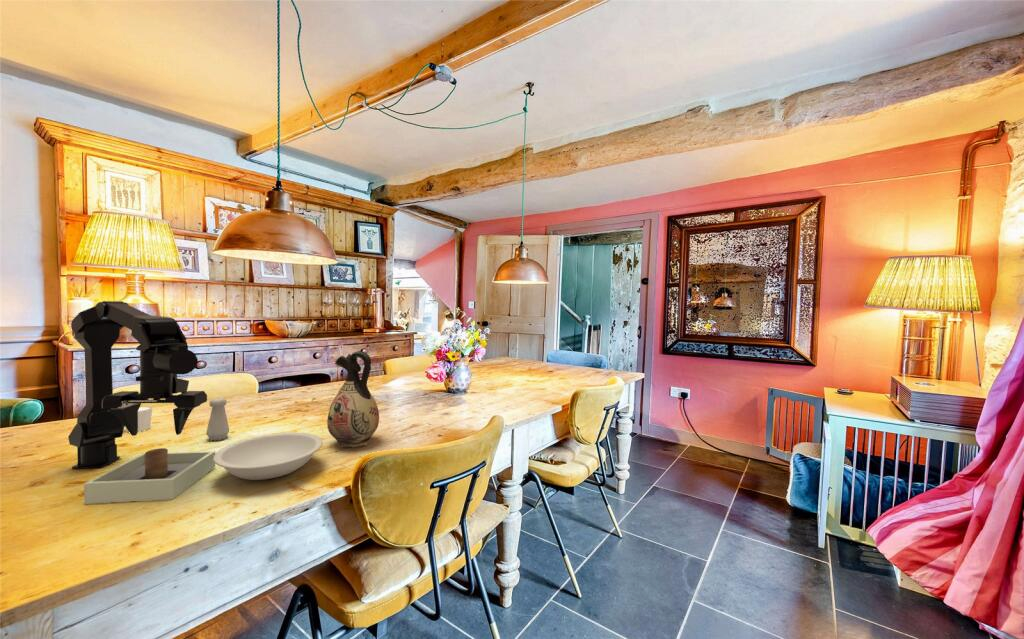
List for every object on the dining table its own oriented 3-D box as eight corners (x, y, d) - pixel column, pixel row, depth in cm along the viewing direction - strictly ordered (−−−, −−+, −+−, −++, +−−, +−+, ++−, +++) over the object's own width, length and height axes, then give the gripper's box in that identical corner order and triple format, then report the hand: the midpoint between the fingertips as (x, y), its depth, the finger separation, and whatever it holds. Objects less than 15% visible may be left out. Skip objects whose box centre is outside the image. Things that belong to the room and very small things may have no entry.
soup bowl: (231, 459, 108) (231, 436, 107) (326, 450, 116) (326, 429, 116) (196, 502, 85) (196, 473, 85) (316, 487, 94) (316, 460, 93)
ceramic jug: (314, 447, 118) (316, 350, 117) (351, 432, 133) (352, 346, 131) (360, 456, 113) (362, 355, 111) (392, 439, 127) (394, 349, 126)
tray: (84, 504, 83) (84, 483, 83) (142, 470, 99) (142, 453, 99) (172, 499, 86) (172, 479, 86) (215, 467, 102) (215, 451, 102)
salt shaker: (219, 442, 119) (219, 401, 119) (201, 441, 120) (201, 400, 119) (233, 436, 125) (233, 396, 125) (216, 435, 125) (216, 395, 125)
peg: (140, 488, 90) (140, 455, 90) (153, 480, 94) (152, 448, 94) (160, 487, 91) (160, 454, 90) (171, 479, 95) (171, 448, 94)
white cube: (118, 431, 125) (118, 410, 125) (143, 425, 132) (143, 405, 132) (132, 434, 123) (132, 413, 123) (157, 428, 130) (157, 407, 130)
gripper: (219, 365, 101) (219, 423, 102) (137, 364, 98) (137, 424, 99) (192, 372, 90) (192, 438, 91) (99, 372, 87) (99, 440, 88)
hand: (156, 434), depth 92 cm, fingers open, 9 cm apart
